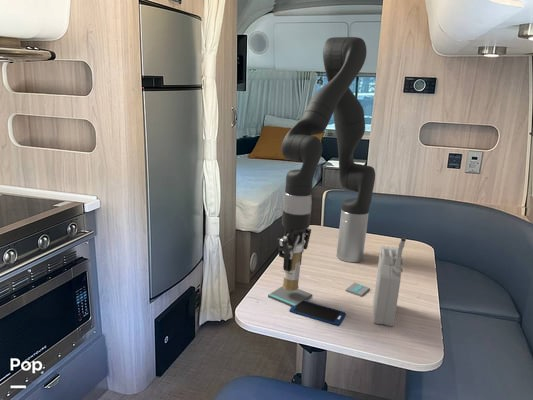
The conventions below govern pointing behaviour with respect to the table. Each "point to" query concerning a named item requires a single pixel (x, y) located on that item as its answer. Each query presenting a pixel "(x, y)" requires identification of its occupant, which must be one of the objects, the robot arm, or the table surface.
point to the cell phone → (319, 312)
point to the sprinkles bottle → (293, 270)
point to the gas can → (388, 284)
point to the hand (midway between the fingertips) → (292, 267)
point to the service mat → (289, 296)
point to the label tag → (357, 289)
